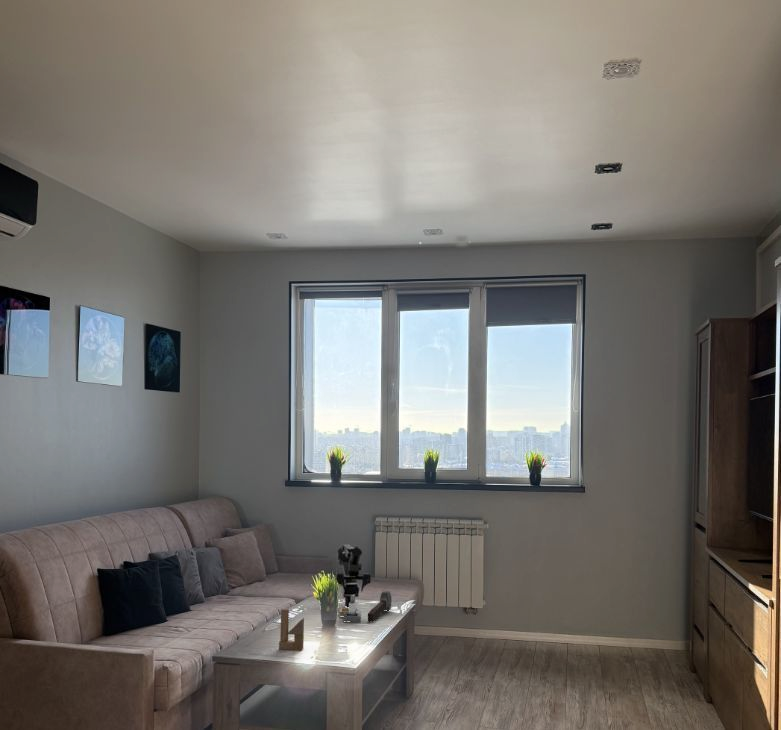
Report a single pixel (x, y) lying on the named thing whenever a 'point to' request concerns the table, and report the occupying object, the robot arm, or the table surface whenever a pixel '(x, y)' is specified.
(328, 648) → the table surface
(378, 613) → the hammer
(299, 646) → the wooden block
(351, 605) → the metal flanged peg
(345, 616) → the socket
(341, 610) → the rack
